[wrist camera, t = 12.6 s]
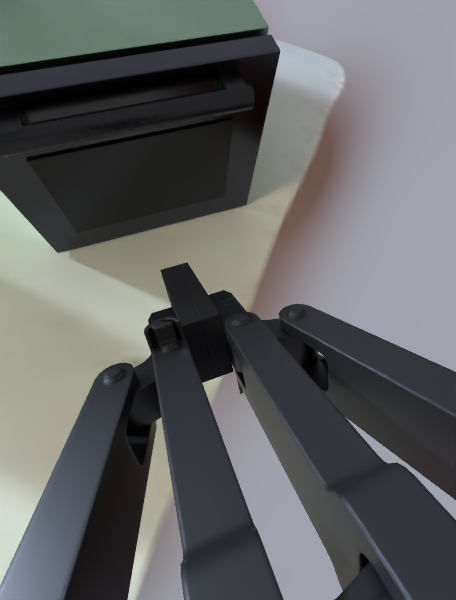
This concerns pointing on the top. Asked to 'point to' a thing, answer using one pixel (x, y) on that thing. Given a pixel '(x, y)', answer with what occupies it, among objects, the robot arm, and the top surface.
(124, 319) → the top surface
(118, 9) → the oven
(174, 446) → the robot arm
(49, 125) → the oven door
